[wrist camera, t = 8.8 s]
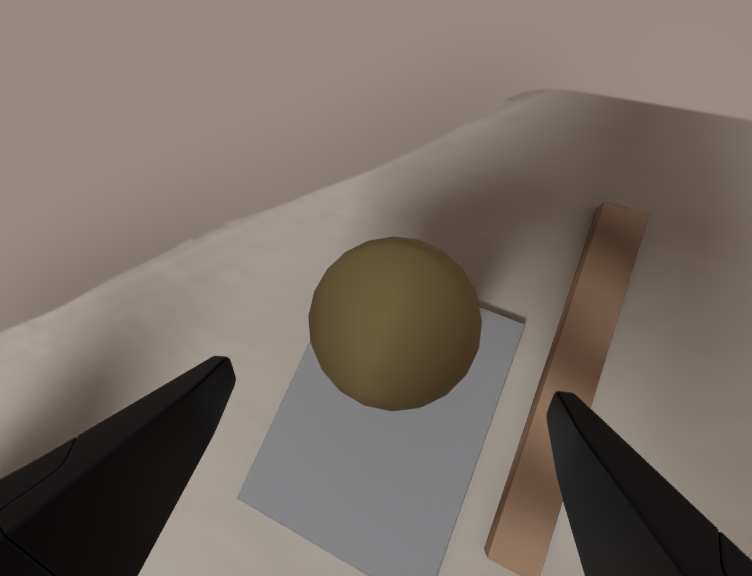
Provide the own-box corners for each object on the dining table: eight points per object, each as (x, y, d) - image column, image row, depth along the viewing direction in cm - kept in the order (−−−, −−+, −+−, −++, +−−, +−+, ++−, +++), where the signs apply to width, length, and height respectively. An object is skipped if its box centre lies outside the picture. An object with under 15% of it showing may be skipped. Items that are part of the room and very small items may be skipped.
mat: (424, 603, 17) (424, 608, 16) (240, 495, 19) (236, 498, 18) (522, 325, 19) (524, 324, 19) (350, 258, 21) (349, 256, 21)
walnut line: (531, 574, 16) (537, 584, 16) (484, 549, 17) (487, 558, 16) (639, 220, 20) (648, 214, 19) (597, 208, 20) (604, 201, 19)
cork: (354, 291, 20) (288, 208, 10) (455, 292, 20) (504, 202, 9) (349, 396, 19) (266, 431, 8) (458, 400, 18) (520, 445, 8)
